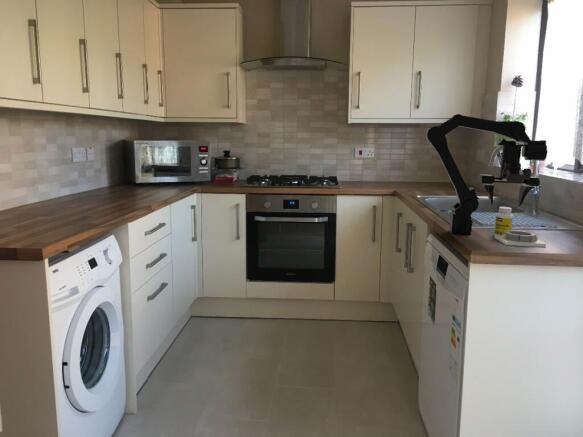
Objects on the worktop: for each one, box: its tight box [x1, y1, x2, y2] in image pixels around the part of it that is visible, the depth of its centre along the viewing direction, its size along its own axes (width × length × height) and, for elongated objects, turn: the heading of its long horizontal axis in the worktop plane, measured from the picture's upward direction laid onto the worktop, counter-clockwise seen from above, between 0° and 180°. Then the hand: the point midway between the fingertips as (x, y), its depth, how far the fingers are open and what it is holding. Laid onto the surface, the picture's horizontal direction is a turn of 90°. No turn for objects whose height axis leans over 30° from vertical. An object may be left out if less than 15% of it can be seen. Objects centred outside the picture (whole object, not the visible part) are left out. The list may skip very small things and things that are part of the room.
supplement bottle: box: [493, 206, 514, 236], centre depth 161 cm, size 5×5×10 cm
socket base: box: [493, 229, 547, 248], centre depth 151 cm, size 12×11×3 cm
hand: (505, 205), depth 160 cm, fingers open, 9 cm apart
